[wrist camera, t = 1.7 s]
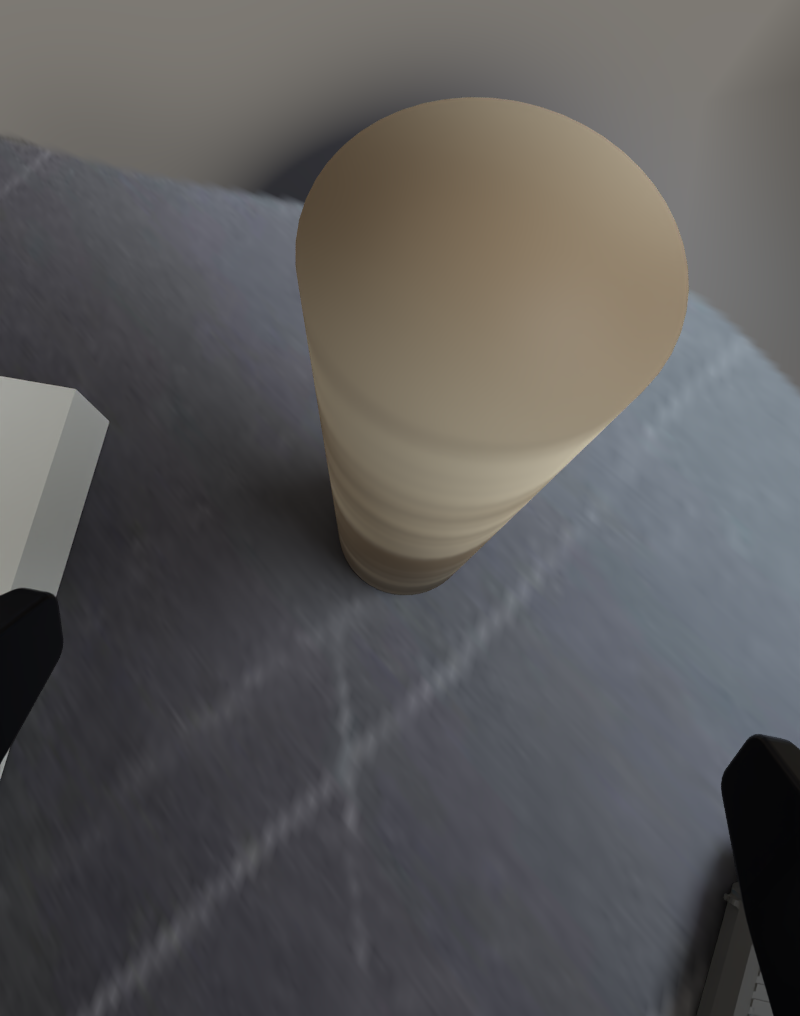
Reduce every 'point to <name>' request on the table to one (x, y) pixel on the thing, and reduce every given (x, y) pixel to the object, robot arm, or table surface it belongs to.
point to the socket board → (43, 480)
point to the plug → (475, 320)
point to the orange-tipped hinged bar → (734, 969)
